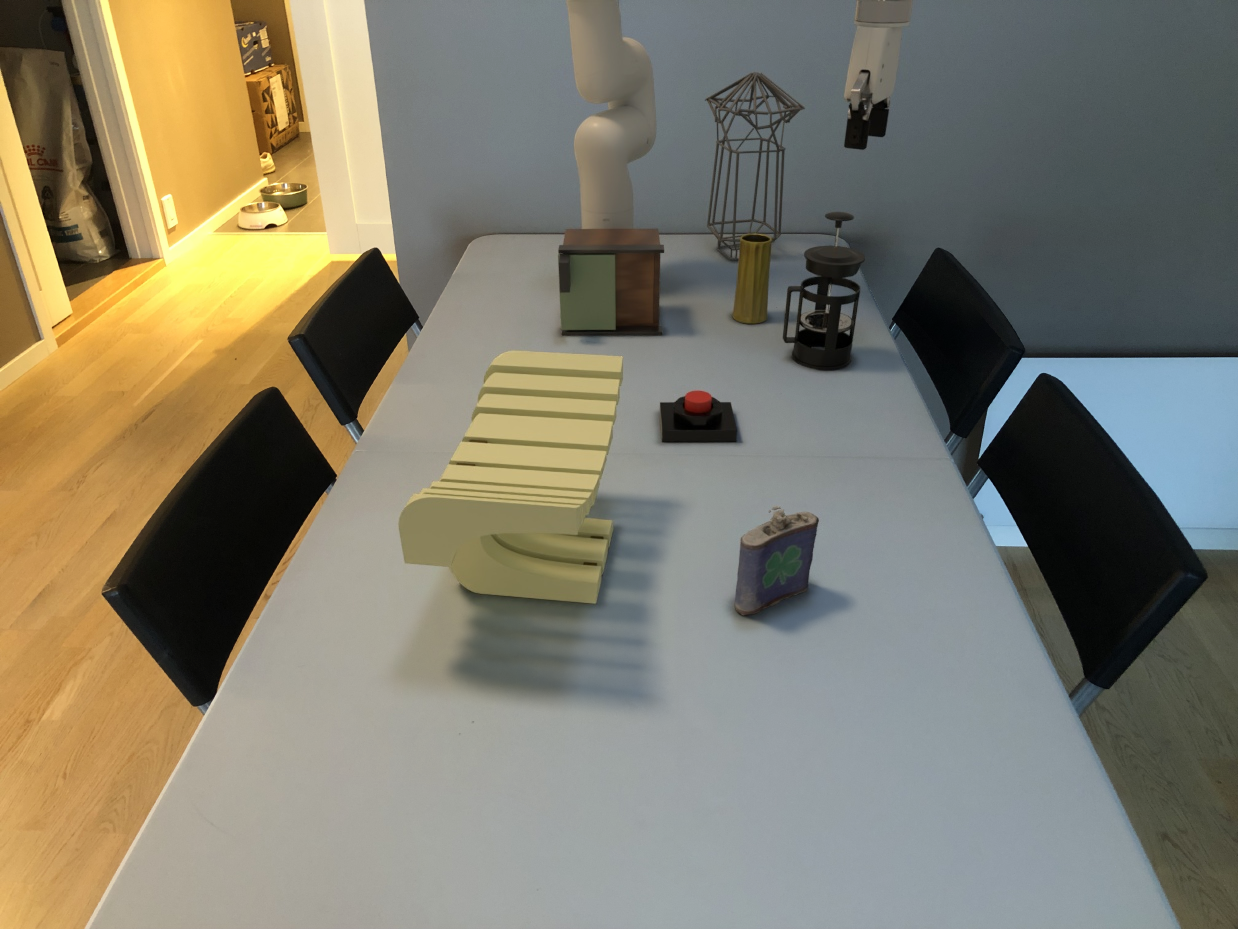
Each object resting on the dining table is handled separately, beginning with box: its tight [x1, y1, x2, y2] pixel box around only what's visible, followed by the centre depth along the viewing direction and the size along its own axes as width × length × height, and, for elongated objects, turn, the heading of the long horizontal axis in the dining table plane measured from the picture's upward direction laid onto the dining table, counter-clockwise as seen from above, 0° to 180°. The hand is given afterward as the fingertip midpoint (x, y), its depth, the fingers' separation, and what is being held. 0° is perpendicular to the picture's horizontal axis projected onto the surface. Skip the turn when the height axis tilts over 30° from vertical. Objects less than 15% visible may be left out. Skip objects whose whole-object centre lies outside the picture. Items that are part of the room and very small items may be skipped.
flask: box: [733, 505, 820, 616], centre depth 87 cm, size 9×3×11 cm, turn 121°
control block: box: [659, 395, 738, 443], centre depth 118 cm, size 10×8×4 cm
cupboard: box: [557, 228, 665, 336], centre depth 148 cm, size 17×13×15 cm
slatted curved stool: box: [398, 350, 624, 605], centre depth 90 cm, size 30×16×18 cm, turn 172°
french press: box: [782, 211, 866, 371], centre depth 132 cm, size 12×9×23 cm
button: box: [684, 390, 713, 413], centre depth 117 cm, size 4×4×2 cm
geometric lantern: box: [704, 71, 806, 261], centre depth 173 cm, size 16×16×35 cm
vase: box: [731, 232, 773, 325], centre depth 149 cm, size 6×6×14 cm
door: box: [557, 253, 616, 331], centre depth 141 cm, size 9×4×13 cm, turn 90°
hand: (864, 142), depth 129 cm, fingers open, 9 cm apart
